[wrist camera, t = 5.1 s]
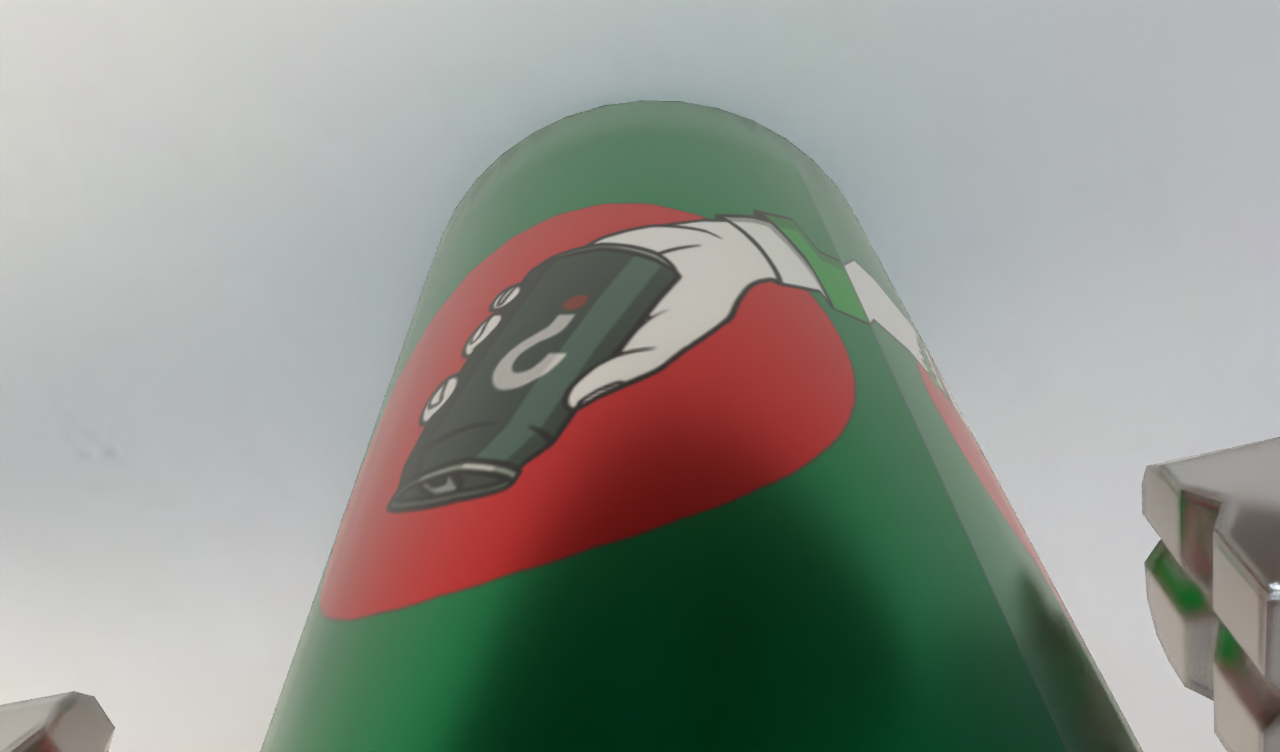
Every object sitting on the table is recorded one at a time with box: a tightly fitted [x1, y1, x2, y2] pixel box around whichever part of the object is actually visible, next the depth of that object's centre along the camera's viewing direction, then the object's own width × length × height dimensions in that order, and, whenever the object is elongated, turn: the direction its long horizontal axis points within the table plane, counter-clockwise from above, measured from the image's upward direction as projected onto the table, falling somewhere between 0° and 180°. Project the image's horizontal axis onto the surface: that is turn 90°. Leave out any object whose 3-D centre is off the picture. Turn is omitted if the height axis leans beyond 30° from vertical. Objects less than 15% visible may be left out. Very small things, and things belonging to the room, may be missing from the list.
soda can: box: [260, 101, 1143, 752], centre depth 8 cm, size 5×5×12 cm
